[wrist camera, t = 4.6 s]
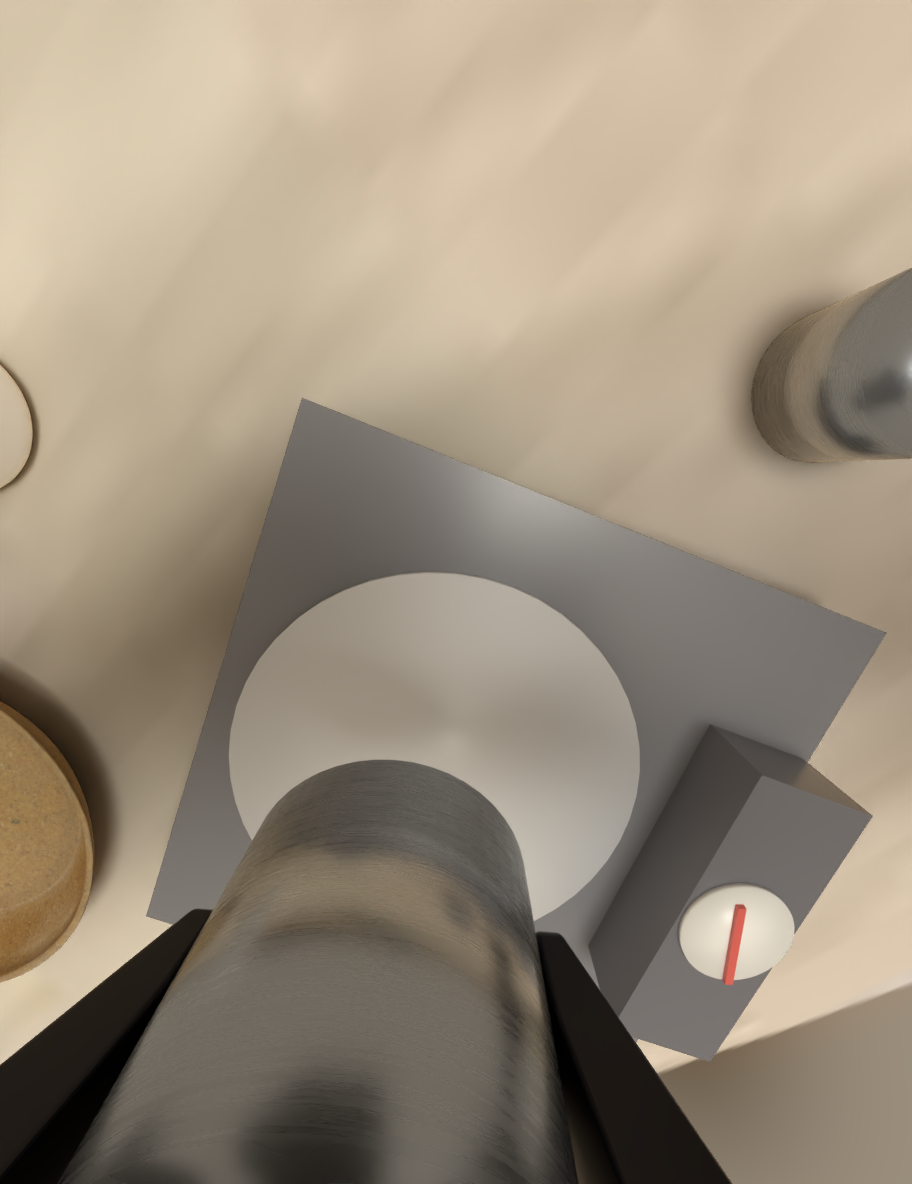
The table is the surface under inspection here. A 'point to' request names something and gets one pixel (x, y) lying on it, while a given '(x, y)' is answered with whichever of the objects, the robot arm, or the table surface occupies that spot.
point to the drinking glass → (13, 429)
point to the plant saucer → (39, 846)
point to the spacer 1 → (352, 1007)
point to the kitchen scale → (538, 713)
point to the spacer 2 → (842, 380)
